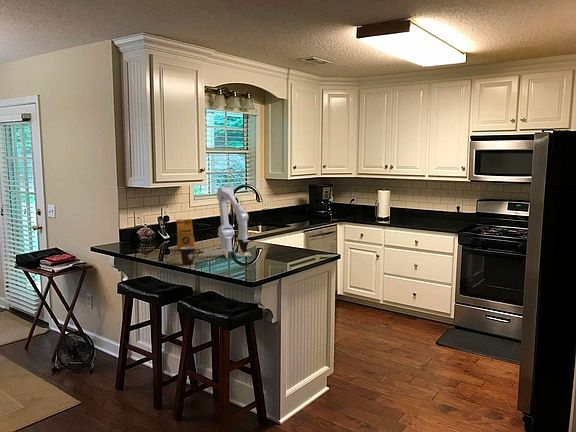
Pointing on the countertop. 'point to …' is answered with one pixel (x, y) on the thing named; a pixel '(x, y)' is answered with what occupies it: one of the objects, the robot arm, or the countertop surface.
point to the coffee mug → (188, 255)
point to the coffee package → (185, 233)
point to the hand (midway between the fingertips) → (243, 251)
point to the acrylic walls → (215, 252)
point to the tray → (242, 255)
